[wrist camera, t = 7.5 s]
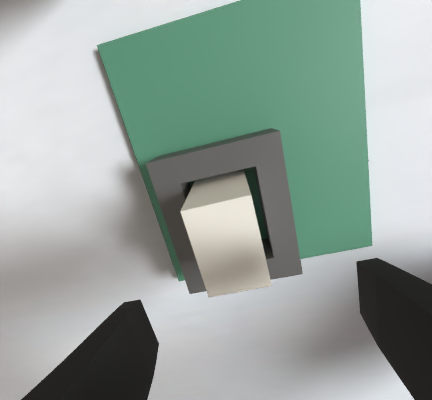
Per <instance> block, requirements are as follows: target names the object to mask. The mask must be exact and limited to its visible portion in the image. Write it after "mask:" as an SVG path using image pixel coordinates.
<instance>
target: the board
mask: <svg viewBox="0 0 432 400" xmlns="http://www.w3.org/2000/svg"><path fill="white" fill-rule="evenodd" d="M97 47H98V50H99V53H100V55H101V58H102V61H103V64H104V67H105V70H106V73H107V76H108V78H109V81H110V84H111V87H112V90H113V93H114V96H115V99H116V101H117V104H118V107H119V110H120V113H121V116H122V119H123V122H124V124H125V127H126V130H127V133H128V136H129V139H130V142H131V145H132V147H133V150H134V153H135V156H136V159H137V162H138V165H139V168H140V170H141V173H142V176H143V179H144V182H145V185H146V188H147V190H148V193H149V196H150V199H151V202H152V205H153V208H154V211H155V213H156V216H157V219H158V222H159V225H160V228H161V231H162V234H163V236H164V239H165V242H166V245H167V248H168V251H169V254H170V257H171V259H172V262H173V265H174V268H175V271H176V274H177V277H178V280H179V281H183V280H185V281H186V284H187V287H188V290H189V293H190V294H192V293H197V292H203V291H206V288H205V285H204V282H203V279H202V275H201V272H200V269H199V266H198V263H197V260H196V257H195V254H194V251H193V248H192V245H191V242H190V239H189V236H188V233H187V230H186V227H185V224H184V221H183V218H182V215H181V212H180V211H181V209H182V207H183V205H184V203H185V201H186V199H187V197H188V194H189V192H190V190H191V188H192V186H193V184H194V182H195V180H199V179H203V178H207V177H212V176H216V175H220V174H225V173H229V172H233V171H238V170H242V169H243V170H244V173H245V176H246V179H247V183H248V186H249V189H250V192H251V196H252V200H253V205H254V209H255V213H256V218H257V222H258V227H259V231H260V235H261V240H262V244H263V249H264V253H265V257H266V262H267V266H268V271H269V275H270V280H271V279H277V278H283V277H288V276H294V275H300V274H302V267H301V261H300V259H303V258H308V257H313V256H319V255H324V254H330V253H335V252H341V251H346V250H352V249H357V248H363V247H368V246H372V230H371V210H370V190H369V169H368V149H367V129H366V109H365V89H364V69H363V48H362V28H361V8H360V0H240V1H237V2H234V3H231V4H228V5H224V6H221V7H218V8H215V9H212V10H208V11H205V12H202V13H199V14H196V15H192V16H189V17H186V18H183V19H180V20H176V21H173V22H170V23H167V24H164V25H160V26H157V27H154V28H151V29H148V30H144V31H141V32H138V33H135V34H131V35H128V36H125V37H122V38H119V39H115V40H112V41H109V42H106V43H103V44H99V45H97Z"/></svg>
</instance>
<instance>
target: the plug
mask: <svg viewBox="0 0 432 400" xmlns="http://www.w3.org/2000/svg"><path fill="white" fill-rule="evenodd" d="M180 212H181V215H182V218H183V221H184V224H185V227H186V230H187V233H188V236H189V239H190V242H191V245H192V248H193V251H194V254H195V257H196V260H197V263H198V266H199V269H200V272H201V275H202V279H203V282H204V285H205V288H206V291H207V294H208V297H214V296H220V295H225V294H230V293H236V292H241V291H246V290H252V289H257V288H262V287H268V286H272V284H271V280H270V275H269V271H268V266H267V262H266V257H265V253H264V249H263V244H262V240H261V235H260V231H259V227H258V222H257V218H256V213H255V209H254V205H253V200H252V196H251V192H250V189H249V186H248V183H247V179H246V176H245V173H244V170H243V169H242V170H238V171H233V172H229V173H225V174H220V175H216V176H212V177H207V178H203V179H199V180H195V182H194V184H193V186H192V188H191V190H190V192H189V194H188V197H187V199H186V201H185V203H184V205H183V207H182V209H181V211H180Z"/></svg>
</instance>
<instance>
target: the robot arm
mask: <svg viewBox="0 0 432 400" xmlns="http://www.w3.org/2000/svg"><path fill="white" fill-rule="evenodd" d="M357 275H358V288H359V302H360V313H361V315H362V317H363V319H364V321H365V323H366V325H367V327H368V329H369V330H370V332H371V334H372V336H373V338H374V340H375V341H376V343H377V345H378V347H379V348H380V350H381V351H382V353H383V354H384V356H385V357H386V359H387V360H388V362H389V363H390V364H391V366H392V367H393V369H394V370H395V372H396V373H397V375H398V376H399V378H400V379H401V381H402V382H403V383H404V385H405V386H406V388H407V389H408V391H409V392H410V394H411V395H412V396H413V398H414V399H415V400H432V284H430V283H428V282H426V281H424V280H422V279H420V278H417V277H415V276H413V275H411V274H409V273H407V272H405V271H403V270H401V269H399V268H397V267H395V266H393V265H391V264H389V263H387V262H385V261H383V260H380V259H378V258H374V259H369V260H363V261H357ZM158 346H159V343H158V341H157V338H156V336H155V333H154V331H153V329H152V326H151V324H150V321H149V319H148V317H147V314H146V312H145V309H144V307H143V305H142V302H141V300H135V301H129V302H124V303H123V304H122V305H121V306H119V307H118V308H117V309H116V310H115V311H114V312H113V313H112V314H111V315H110V316H109V317H108V318H107V319H106V320H105V321H104V322H103V323H102V324H100V325H99V326H98V327H97V328H96V329H95V330H94V331H93V332H92V333H91V334H90V335H89V336H88V337H87V338H86V339H85V340H84V341H83V342H82V343H81V344H80V345H79V346H78V347H77V348H76V349H75V350H74V351H73V352H72V353H71V354H70V355H69V356H68V357H67V358H66V359H65V360H64V361H63V362H62V363H60V364H59V365H58V366H57V367H56V368H55V369H54V370H53V371H52V372H51V373H50V374H49V375H48V376H46V377H45V378H44V379H43V380H42V381H41V382H40V383H39V384H38V385H37V386H36V387H35V388H34V389H32V390H31V391H30V392H29V393H28V394H27V395H26V396H25V397H24V398H23V399H21V400H147V398H148V395H149V391H150V387H151V384H152V380H153V376H154V370H155V365H156V359H157V352H158Z"/></svg>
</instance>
